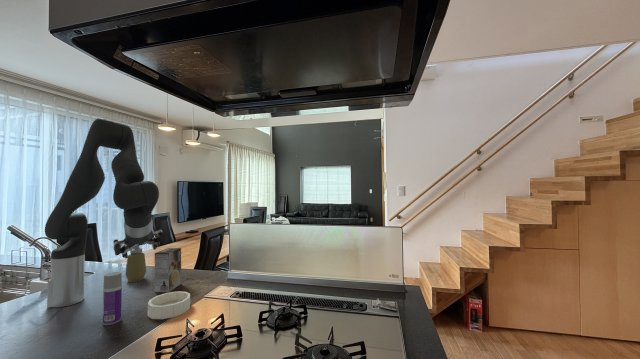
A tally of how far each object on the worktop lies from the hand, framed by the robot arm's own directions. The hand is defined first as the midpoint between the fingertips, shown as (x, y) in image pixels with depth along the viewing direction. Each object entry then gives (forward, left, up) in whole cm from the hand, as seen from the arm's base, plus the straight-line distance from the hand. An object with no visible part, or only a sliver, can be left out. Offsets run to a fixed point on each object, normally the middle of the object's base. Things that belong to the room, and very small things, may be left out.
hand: (140, 251), depth 95 cm
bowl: (+10, -7, -20) cm, 23 cm away
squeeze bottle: (-8, +35, -20) cm, 41 cm away
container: (-6, -8, -20) cm, 22 cm away
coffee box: (+7, +17, -20) cm, 27 cm away
